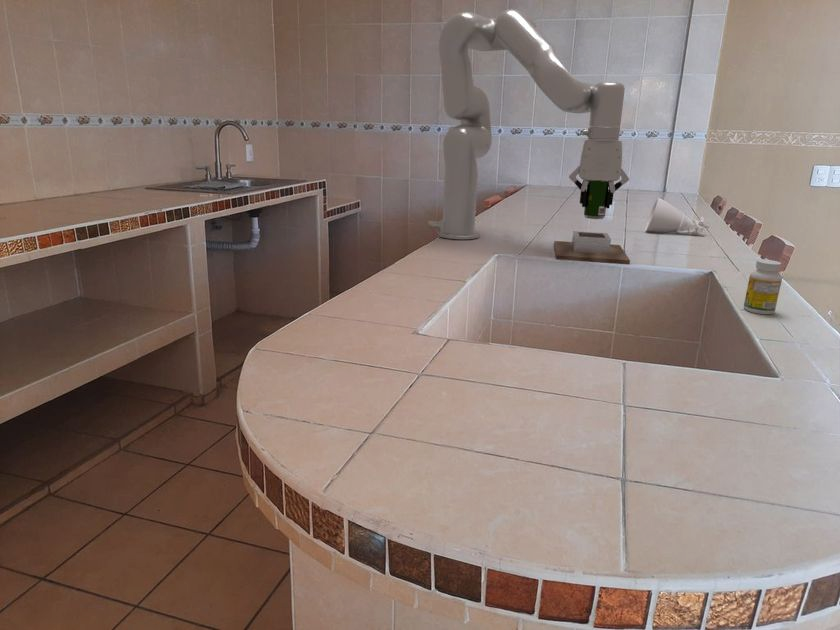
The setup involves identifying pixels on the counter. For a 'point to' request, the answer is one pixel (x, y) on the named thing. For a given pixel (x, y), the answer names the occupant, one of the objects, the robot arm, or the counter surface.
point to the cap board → (590, 249)
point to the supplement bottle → (763, 287)
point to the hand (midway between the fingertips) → (595, 206)
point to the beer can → (596, 199)
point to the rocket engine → (672, 220)
